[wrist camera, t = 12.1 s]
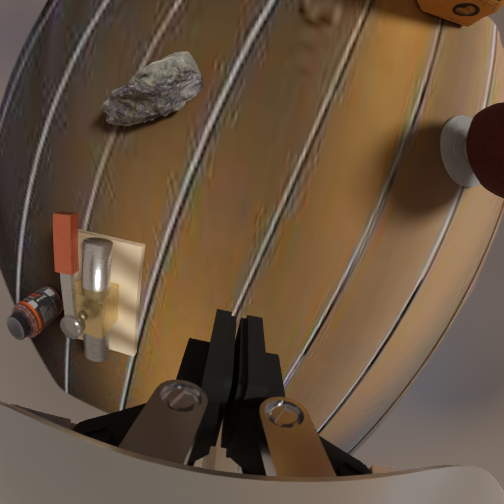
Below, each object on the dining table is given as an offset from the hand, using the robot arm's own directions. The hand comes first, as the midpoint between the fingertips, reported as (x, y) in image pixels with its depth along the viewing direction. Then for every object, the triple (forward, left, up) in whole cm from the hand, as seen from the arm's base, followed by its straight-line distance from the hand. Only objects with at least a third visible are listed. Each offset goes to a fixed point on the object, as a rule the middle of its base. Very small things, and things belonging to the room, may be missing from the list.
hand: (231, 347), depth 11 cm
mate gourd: (+21, -33, -31) cm, 50 cm away
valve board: (-16, +19, -31) cm, 40 cm away
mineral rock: (+15, +16, -31) cm, 38 cm away
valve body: (-16, +19, -30) cm, 39 cm away
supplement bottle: (-21, +30, -31) cm, 48 cm away
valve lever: (-10, +20, -21) cm, 30 cm away
